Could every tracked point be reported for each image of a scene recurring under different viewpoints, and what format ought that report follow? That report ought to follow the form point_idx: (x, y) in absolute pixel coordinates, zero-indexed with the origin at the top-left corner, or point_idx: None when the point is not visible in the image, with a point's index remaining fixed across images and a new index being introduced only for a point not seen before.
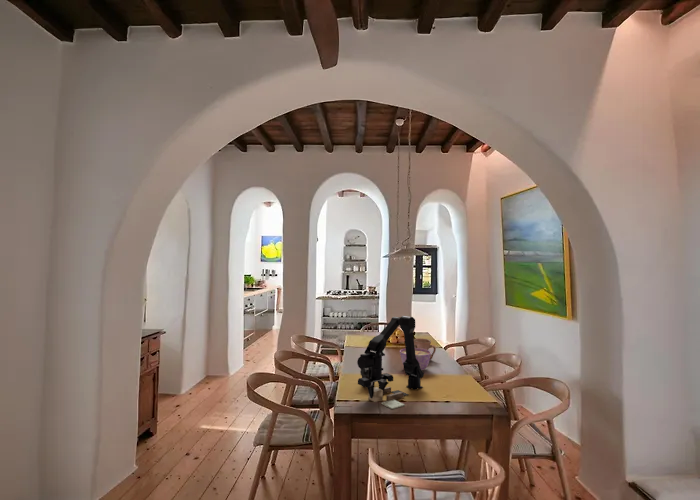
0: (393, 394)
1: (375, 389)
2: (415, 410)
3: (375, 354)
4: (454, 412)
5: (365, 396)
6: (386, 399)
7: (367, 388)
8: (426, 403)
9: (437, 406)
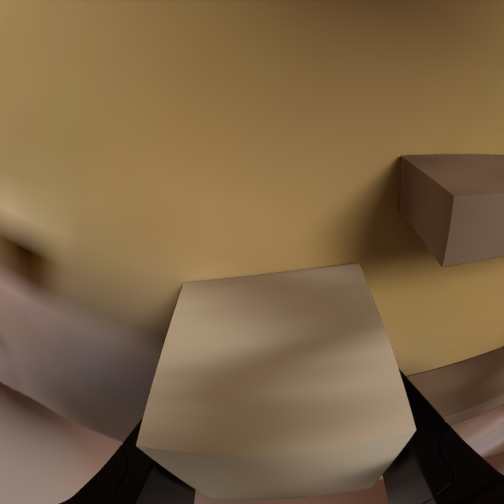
0: (462, 415)
1: (278, 483)
2: None
3: None
4: None
5: (181, 144)
6: None
7: (91, 488)
8: (492, 422)
9: (480, 440)
